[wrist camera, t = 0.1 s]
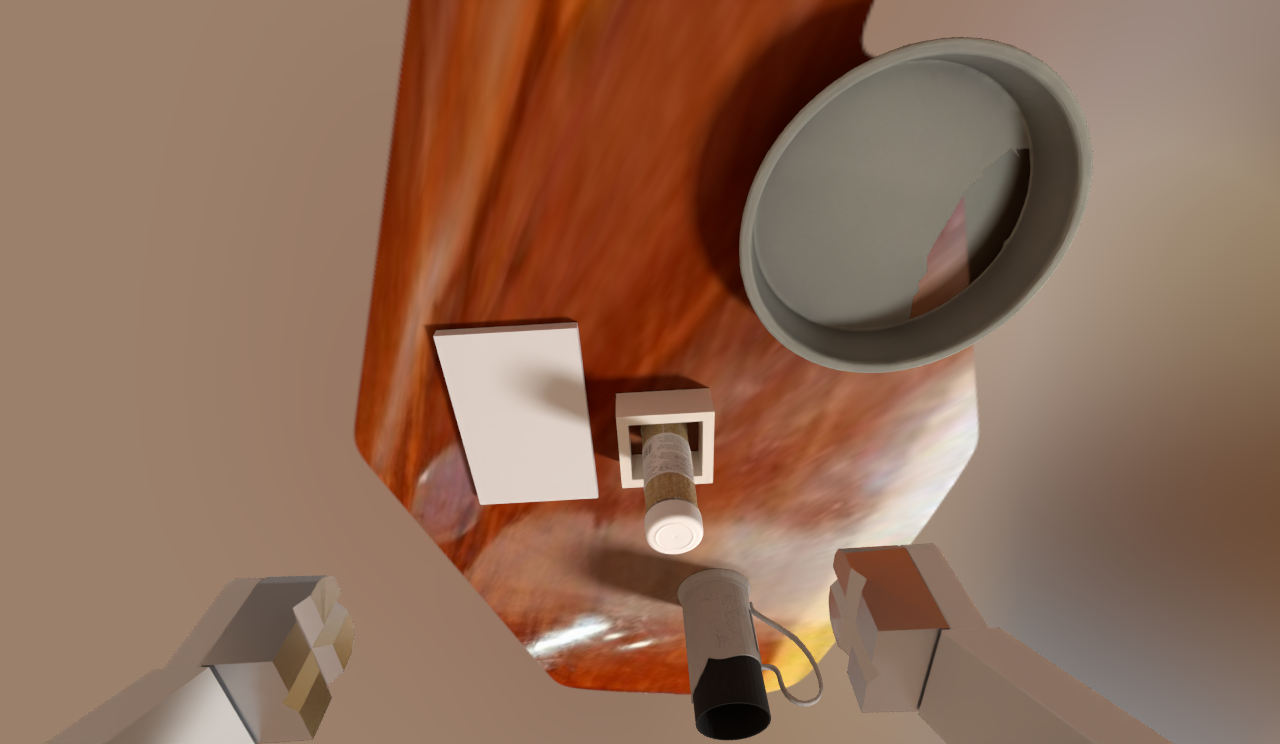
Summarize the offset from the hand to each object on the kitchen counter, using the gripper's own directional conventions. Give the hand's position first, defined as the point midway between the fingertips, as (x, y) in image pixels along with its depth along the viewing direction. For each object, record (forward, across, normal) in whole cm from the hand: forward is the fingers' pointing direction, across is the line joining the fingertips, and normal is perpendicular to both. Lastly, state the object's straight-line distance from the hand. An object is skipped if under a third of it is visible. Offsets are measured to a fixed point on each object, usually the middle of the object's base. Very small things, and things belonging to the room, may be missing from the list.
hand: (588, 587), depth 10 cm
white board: (+41, +10, +23) cm, 48 cm away
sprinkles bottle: (+42, -3, +25) cm, 49 cm away
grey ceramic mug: (+44, -11, +50) cm, 68 cm away
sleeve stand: (+42, -3, +25) cm, 48 cm away
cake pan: (+40, -21, +5) cm, 45 cm away
